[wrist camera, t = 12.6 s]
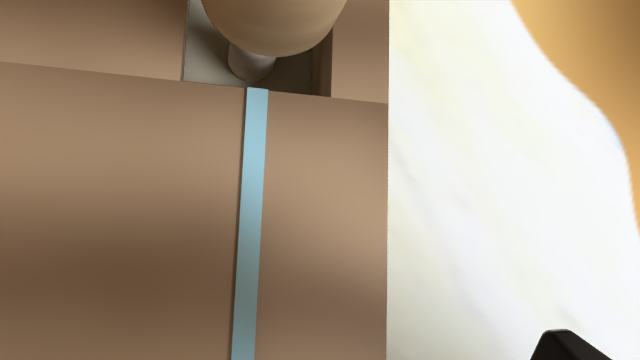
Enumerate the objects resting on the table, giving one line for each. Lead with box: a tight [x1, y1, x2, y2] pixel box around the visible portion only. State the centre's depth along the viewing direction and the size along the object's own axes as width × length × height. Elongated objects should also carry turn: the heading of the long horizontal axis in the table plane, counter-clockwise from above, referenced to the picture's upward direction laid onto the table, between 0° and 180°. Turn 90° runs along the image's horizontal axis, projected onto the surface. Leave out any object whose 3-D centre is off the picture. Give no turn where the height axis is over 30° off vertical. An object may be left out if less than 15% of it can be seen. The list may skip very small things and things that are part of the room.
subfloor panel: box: [0, 0, 389, 360], centre depth 17 cm, size 18×20×3 cm
